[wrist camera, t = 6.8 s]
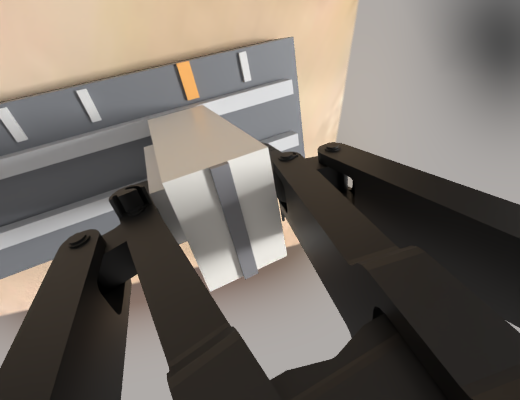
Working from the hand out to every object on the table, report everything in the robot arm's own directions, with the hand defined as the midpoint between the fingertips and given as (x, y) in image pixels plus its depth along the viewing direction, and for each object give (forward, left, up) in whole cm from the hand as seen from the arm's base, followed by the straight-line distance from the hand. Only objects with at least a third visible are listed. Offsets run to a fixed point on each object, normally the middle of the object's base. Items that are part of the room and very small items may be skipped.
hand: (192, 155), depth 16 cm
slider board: (0, -4, -5) cm, 7 cm away
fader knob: (0, 0, -2) cm, 2 cm away
